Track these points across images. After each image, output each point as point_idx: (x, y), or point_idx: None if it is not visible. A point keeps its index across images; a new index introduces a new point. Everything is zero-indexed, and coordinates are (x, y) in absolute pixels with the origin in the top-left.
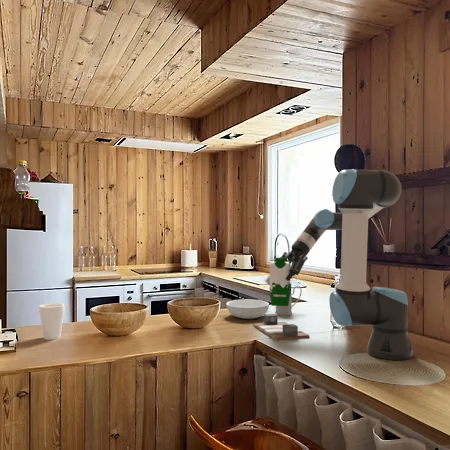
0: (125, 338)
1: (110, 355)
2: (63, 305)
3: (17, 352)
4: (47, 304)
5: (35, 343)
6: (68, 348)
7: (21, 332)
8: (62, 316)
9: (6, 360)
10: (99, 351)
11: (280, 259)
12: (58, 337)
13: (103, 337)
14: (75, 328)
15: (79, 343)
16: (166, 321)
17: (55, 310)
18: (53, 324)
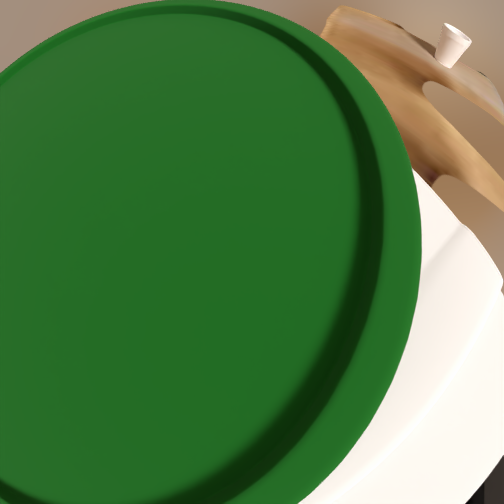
0: (410, 82)
1: (332, 36)
2: (454, 33)
3: (394, 25)
4: (467, 37)
5: (422, 44)
6: (388, 39)
7: (471, 68)
8: (449, 43)
9: (370, 14)
10: (358, 40)
11: (22, 97)
12: (438, 60)
13: (426, 77)
14: (480, 97)
15: (406, 53)
16: (499, 201)
17: (443, 28)
18: (439, 42)
